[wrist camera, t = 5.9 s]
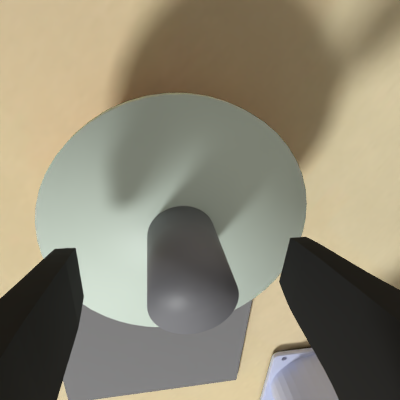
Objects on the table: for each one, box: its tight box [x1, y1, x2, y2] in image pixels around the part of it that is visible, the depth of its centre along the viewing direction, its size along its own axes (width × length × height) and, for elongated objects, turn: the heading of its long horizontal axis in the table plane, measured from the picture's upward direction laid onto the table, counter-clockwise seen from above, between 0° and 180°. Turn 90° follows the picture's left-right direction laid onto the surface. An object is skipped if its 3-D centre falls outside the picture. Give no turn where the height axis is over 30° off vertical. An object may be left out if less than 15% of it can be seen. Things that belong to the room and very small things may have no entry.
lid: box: [35, 93, 307, 334], centre depth 10 cm, size 11×11×4 cm
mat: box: [63, 300, 252, 400], centre depth 21 cm, size 14×12×1 cm
